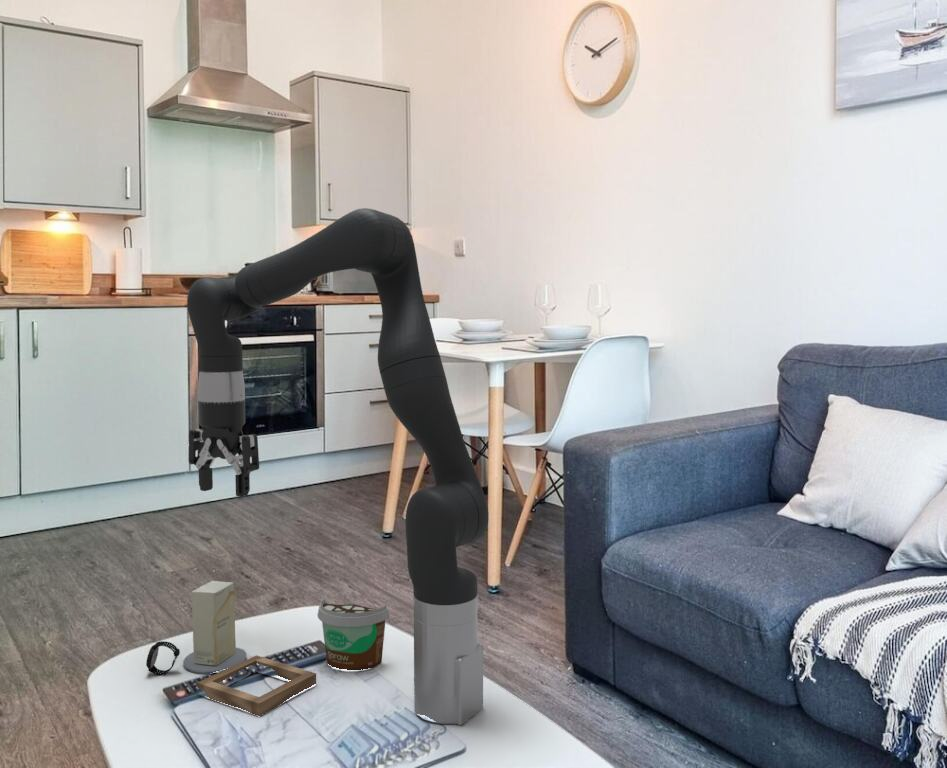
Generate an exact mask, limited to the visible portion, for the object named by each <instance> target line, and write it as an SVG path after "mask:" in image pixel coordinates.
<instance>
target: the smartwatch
mask: <svg viewBox="0 0 947 768" xmlns="http://www.w3.org/2000/svg"><path fill="white" fill-rule="evenodd" d="M160 647H166V648H168V649H170V650H171V651H172V652H173V656H174V659H173V661H172V663H171V666H170V667H169V668H168V669H166V670H163V669H162V670H161V669H158V667H156V665H155V664H156V663H157V658H158V655H159V648H160ZM180 653H181V649H180V648H178V647H177V646H176V645H175V644H174V643H172V642H169V641H163V640H162V641H157V642H155V644H154V645H152V646H151V647H150V648H149V651H148V654H147V657H146V663H145V664H146V668H147V669H148V670H147V671H148V672H149V673H151V674H154V675H156V676H165V675H167V674H168V673H169V672H171V670H172V669H173V667H174V665H175V663H176V660H177V659H178V657H179V656H180Z"/></svg>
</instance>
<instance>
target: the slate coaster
mask: <svg viewBox="0 0 947 768" xmlns="http://www.w3.org/2000/svg"><path fill="white" fill-rule="evenodd" d="M245 660H247V652H246V651H245V650H244V649H242V648H240V647H238V646H236V652H235V653H234V654H233V655H232V656H230V657H229V658H227V659H226V660H224V661H223V662H221V663H220V664H218V665H216V666H214V665H203V664H197V663H194V651H193V652H191V653H189V654H188V655H187V656H185V657H184V658H183V668H184V670H186V671H188V672H189V673H192V674H197V675H211V674H210V673H213V672H216V671H220V670H223V669H227V668H230V667H232V666H234V665H236V664H238V663H241V662H243V661H245Z"/></svg>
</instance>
